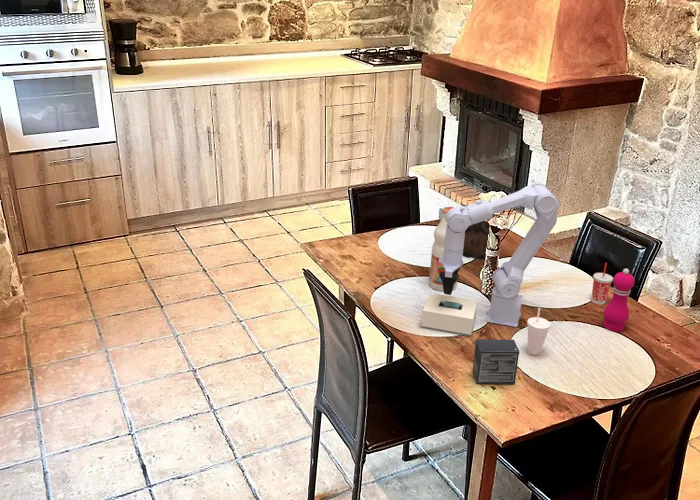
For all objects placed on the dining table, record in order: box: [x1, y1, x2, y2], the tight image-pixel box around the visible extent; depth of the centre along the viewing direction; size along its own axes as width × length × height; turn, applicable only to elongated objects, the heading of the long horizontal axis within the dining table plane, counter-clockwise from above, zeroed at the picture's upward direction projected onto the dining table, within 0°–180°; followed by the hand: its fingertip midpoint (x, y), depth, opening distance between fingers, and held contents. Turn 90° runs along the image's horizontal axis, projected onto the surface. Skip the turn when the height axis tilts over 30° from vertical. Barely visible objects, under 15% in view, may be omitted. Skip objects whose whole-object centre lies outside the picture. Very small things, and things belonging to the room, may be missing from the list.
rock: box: [461, 203, 490, 261], centre depth 251 cm, size 13×13×20 cm
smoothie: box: [526, 307, 551, 356], centre depth 193 cm, size 6×6×14 cm
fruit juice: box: [428, 206, 459, 292], centre depth 226 cm, size 9×9×28 cm
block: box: [443, 301, 460, 310], centre depth 207 cm, size 4×2×6 cm, turn 73°
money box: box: [420, 292, 479, 337], centre depth 208 cm, size 15×12×6 cm
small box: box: [471, 338, 520, 385], centre depth 181 cm, size 11×6×10 cm, turn 92°
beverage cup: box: [590, 262, 614, 305], centre depth 222 cm, size 6×6×14 cm
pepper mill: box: [602, 268, 635, 333], centre depth 206 cm, size 7×7×20 cm
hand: (449, 288), depth 207 cm, fingers open, 7 cm apart
